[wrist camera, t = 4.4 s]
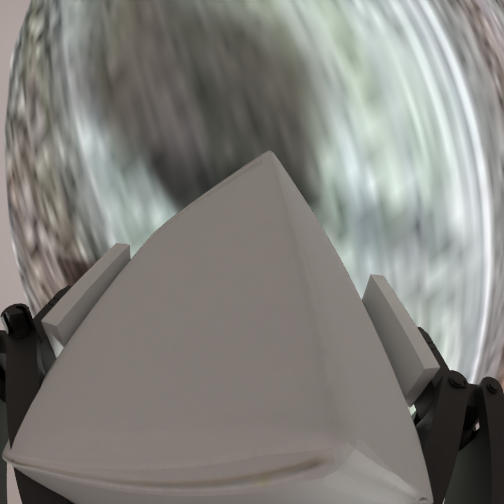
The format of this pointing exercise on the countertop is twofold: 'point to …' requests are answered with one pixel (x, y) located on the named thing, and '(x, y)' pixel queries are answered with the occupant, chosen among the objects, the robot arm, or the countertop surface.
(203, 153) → the countertop surface
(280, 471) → the supplement box
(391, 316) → the robot arm
